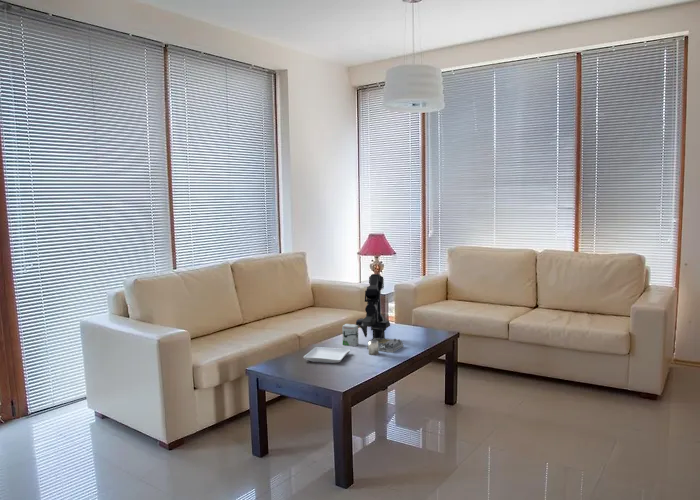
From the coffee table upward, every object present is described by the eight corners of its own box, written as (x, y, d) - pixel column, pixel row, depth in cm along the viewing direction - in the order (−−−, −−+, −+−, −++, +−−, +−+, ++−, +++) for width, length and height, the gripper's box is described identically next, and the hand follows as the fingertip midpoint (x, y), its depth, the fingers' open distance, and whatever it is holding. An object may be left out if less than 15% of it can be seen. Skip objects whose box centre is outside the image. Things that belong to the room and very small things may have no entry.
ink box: (342, 345, 321) (341, 325, 320) (345, 342, 326) (344, 323, 324) (355, 346, 318) (355, 326, 317) (358, 344, 322) (358, 324, 321)
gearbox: (367, 349, 310) (367, 341, 310) (378, 343, 323) (378, 335, 322) (392, 352, 303) (392, 344, 302) (402, 346, 315) (402, 338, 314)
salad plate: (351, 354, 303) (351, 348, 303) (340, 365, 283) (340, 359, 282) (315, 352, 309) (315, 346, 308) (302, 363, 288) (302, 357, 288)
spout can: (366, 354, 301) (366, 339, 300) (371, 351, 306) (371, 337, 305) (375, 355, 298) (375, 340, 297) (380, 353, 303) (379, 338, 302)
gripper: (350, 312, 297) (351, 339, 299) (381, 315, 288) (381, 343, 289) (360, 308, 307) (361, 335, 308) (390, 311, 298) (390, 338, 299)
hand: (373, 338), depth 301 cm, fingers open, 9 cm apart
